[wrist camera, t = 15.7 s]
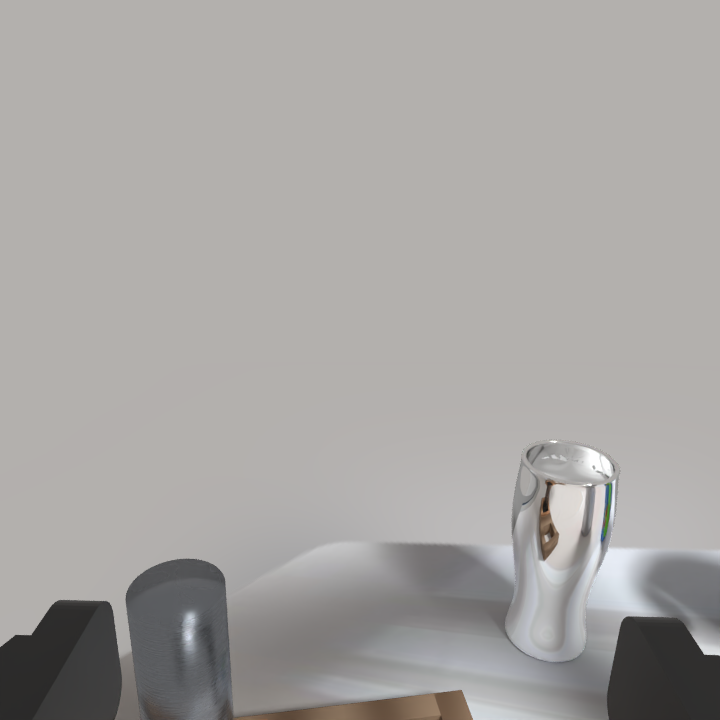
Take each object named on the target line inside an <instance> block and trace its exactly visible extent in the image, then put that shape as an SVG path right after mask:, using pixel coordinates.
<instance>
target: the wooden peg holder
mask: <svg viewBox="0 0 720 720" xmlns="http://www.w3.org/2000/svg"><path fill="white" fill-rule="evenodd" d="M234 720H473V718H472V716H471V713H470V711H469V708H468V705H467V703H466V700H465V697H464V695H463V692H462V690H458V691H450V692H442V693H434V694H426V695H417V696H409V697H401V698H393V699H385V700H377V701H368V702H360V703H352V704H344V705H336V706H328V707H320V708H311V709H303V710H295V711H287V712H279V713H271V714H262V715H254V716H246V717H238V718H234Z"/></svg>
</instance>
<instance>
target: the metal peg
mask: <svg viewBox="0 0 720 720" xmlns="http://www.w3.org/2000/svg"><path fill="white" fill-rule="evenodd" d="M126 607H127V615H128V623H129V631H130V638H131V646H132V654H133V662H134V670H135V678H136V685H137V693H138V701H139V709H140V717H141V720H234V717H233V701H232V685H231V668H230V652H229V636H228V620H227V604H226V588H225V578H224V576H223V574H222V572H221V571H220V570H219V569H218V568H217V567H216V566H214V565H213V564H210V563H209V562H206V561H202V560H197V559H177V560H172V561H167V562H164V563H161V564H158V565H156V566H154V567H151V568H150V569H148V570H146V571H145V572H143V573H142V574H140V575H139V576H138V577H137V578H136V579H135V580H134V581H133V582H132V584H131V585H130V587H129V588H128V591H127V593H126Z"/></svg>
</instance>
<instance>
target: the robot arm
mask: <svg viewBox="0 0 720 720" xmlns="http://www.w3.org/2000/svg"><path fill="white" fill-rule="evenodd" d="M121 685H122V677H121V668H120V661H119V653H118V646H117V639H116V631H115V624H114V616H113V610H112V607H111V605H110V603H109V602H107V601H77V600H59V601H57V602H55V603H54V604H53V605H52V606H51V607H50V609H49V610H48V612H47V613H46V614H45V616H44V618H43V619H42V620H41V622H40V623H39V625H38V626H37V628H36V629H35V631H34V632H33V633H32V635H15V636H14V637H13V638H11V639H10V640H9V641H8V642H6V643H5V644H4V645H3V646H1V647H0V720H114V719H115V716H116V713H117V710H118V706H119V701H120V695H121ZM607 706H608V715H609V720H720V656H719V655H704V654H703V652H702V651H701V649H700V648H699V646H698V645H697V643H696V641H695V640H694V638H693V637H692V635H691V634H690V632H689V631H688V629H687V628H686V626H685V625H684V624H683V623H682V622H681V621H680V620H679V619H677V618H668V617H625V618H624V619H623V621H622V623H621V627H620V631H619V636H618V641H617V646H616V651H615V656H614V661H613V666H612V671H611V676H610V682H609V687H608V693H607Z"/></svg>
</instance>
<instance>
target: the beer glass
mask: <svg viewBox="0 0 720 720" xmlns="http://www.w3.org/2000/svg"><path fill="white" fill-rule="evenodd" d="M619 474H620V468H619V465H618V463H617V462H616V461H615V460H614V459H613V458H612V457H611V456H610V455H608V454H607V453H605V452H603V451H601V450H599V449H597V448H594V447H592V446H589V445H586V444H582V443H578V442H573V441H566V440H544V441H538V442H535V443H532V444H530V445H528V446H527V447H526V448H524V450H523V452H522V458H521V464H520V468H519V473H518V477H517V481H516V487H515V493H514V499H513V507H512V520H511V522H512V546H513V558H514V569H515V590H514V596H513V600H512V602H511V605H510V608H509V610H508V613H507V615H506V619H505V630H506V633H507V635H508V637H509V639H510V640H511V642H512V643H513V644H514V645H515V646H516V647H517V648H518V649H520V650H521V651H522V652H524V653H526V654H527V655H529V656H531V657H534V658H536V659H539V660H542V661H547V662H565V661H569V660H572V659H574V658H576V657H578V656H579V655H580V654H581V653H582V652H583V650H584V648H585V645H586V619H585V616H586V605H587V601H588V597H589V595H590V592H591V590H592V587H593V585H594V582H595V580H596V578H597V575H598V573H599V570H600V568H601V566H602V563H603V561H604V558H605V555H606V552H607V550H608V547H609V543H610V540H611V535H612V531H613V527H614V520H615V514H616V505H617V494H618V480H619Z"/></svg>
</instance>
